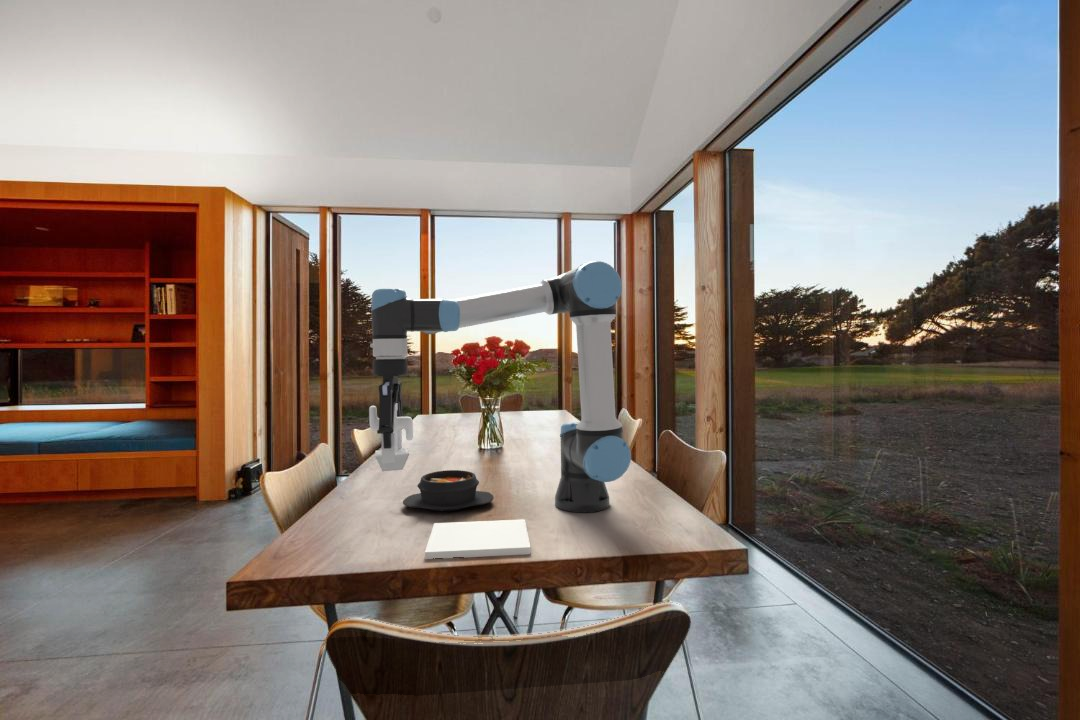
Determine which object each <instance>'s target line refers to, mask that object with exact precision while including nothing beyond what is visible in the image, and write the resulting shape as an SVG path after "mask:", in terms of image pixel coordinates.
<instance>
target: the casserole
mask: <svg viewBox="0 0 1080 720" xmlns="http://www.w3.org/2000/svg"><path fill="white" fill-rule="evenodd" d="M479 484H480V481H479V480H478V479H477V476H476V474H475V473H474V472H471V471H466V470H461V469H460V470H459V469H457V470H456V469H455V470H454V469H449V470H448V469H447V470H440V471H439V470H438V471H433V472H430V473H429V472H428V473H426V474H424V475H422V476H421V478H420V481H419V482H418V483H417V488H418V490H419V493H414V494H411V495H408V496H407V497H405V498H404V499H403V501H402V504H403V506H405V507H407V508H414V509H417V508H418V509H426V510H430V511H436V512H455V511H460V510H464V509H466V508H469V507H474V506H481V505H487V504H489V503H491V502H492V501H493V500H494V498H495V497H494V495H493V494H492V493H491V492H489V491H482V490H481V491H480V490H477V489H478V485H479Z"/></svg>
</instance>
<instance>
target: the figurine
mask: <svg viewBox="0 0 1080 720" xmlns="http://www.w3.org/2000/svg"><path fill="white" fill-rule="evenodd" d="M377 409H378V408H377V406H376V405H371V406H369V409H368V418H369V421H368V423H369V428H370V429H371V430H372V431H376V432H377V430H379V416H378V411H377ZM397 410H398V404H397V403H396V404H395V409H394V426H393V429H394V431H393V433H395V463H382V449H379V450H375V452H374V453H375V454H374V455H375V456H374V457H375V459H376V461H377V463H378V465H379V468H380V469H381V472H392V471H402V470H404V467H405V466H406V463H407V460H408V459H409V456H410V451H409V448H407V447H406V448H402V449H398V445H397V429H402V430H405V439H406V440H407V441H412V440H414V423H413V419H412V417H411V416H403V417H397Z"/></svg>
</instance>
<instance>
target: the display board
mask: <svg viewBox="0 0 1080 720" xmlns="http://www.w3.org/2000/svg"><path fill="white" fill-rule="evenodd" d="M432 526H433V527H432V529H431V533H430V536H429V537H428V542H427V545H426V548H425V551H424V560H436V559H435V558H443V559H454V558H453V557H464V558H478V557H481V558H483V557H500V556H502V557H505V556H519V555H520V556H521V555H531V553H532V552H531V542H530V538H529V533H528V529H527V528H528V527H527V524H526V519H504V520H503V519H501V520H500V519H498V520H480V521H478V520H477V521H475V520H473V521H457V522H453V521H452V522H434V523H433V525H432ZM433 558H434V559H433Z"/></svg>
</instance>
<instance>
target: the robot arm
mask: <svg viewBox="0 0 1080 720" xmlns="http://www.w3.org/2000/svg"><path fill="white" fill-rule="evenodd" d="M622 284H623V282H622V280H621V277H620V274H619V272H618V271H617V270H616V268H614V267H613V266H612V265H611V264H609V263H607V262H604V261H600V260H594V261H588V262H584V263H582V264H580V265H579V266H577V267H575V268H573V269H570V270H568V271H566V272H565V273H561V274H560V275H556V276H555V277H551V278H545V279H542V280H541V281H540V283H538V284H534V285H527V286H523V287H517V288H516V287H515V288H512V289H506V290H500V291H495V292H488V293H483V294H477V295H472V296H466V297H460V298H455V299H448V298H444V297H443V298H409V297H408V296H407V292H406V291H405V290H404V289H402V288H377V289H375V290H374V291H373V292H372V293H371V310H370V311H371V334H372V335H371V336H372V343H370V345H369V347H370V348H372V356H373V358H374V357H375V359H373V361H372V373H373V376H374V377H382V383H381V384H380V385H379V386H378V397H379V399H378V400H379V402H378V406H379V408H378V410H379V411H378V412H379V413H378V415H379V416H378V418H379V430H377V431H376V434H380V438H381V439H380V440H381V450H382V463H395V433H393V431H394V429H393V426H394V409H395V404H396V403H397V404H398V410H397V417H404V416H403V400H402V399H403V397H402V381H399V376H400V377H401V376H407V375H408V372H409V370H408V368H409V367H408V360H407V358H406V357H407V356H408V336H407V333H408V332H412V333H413V332H422V333H424V334H427V335H435V334H438V333H442V332H443V333H448V332H456V331H458V330H459V329H461V328H466V327H472V326H473V327H474V326H478V325H483V324H487V323H493V322H498V321H503V320H508V319H514V318H520V317H525V316H530V315H536V314H540V313H541V314H542V313H546V314H547V315H548V316H549V315H556V314H565V313H569V319H570V321H572V322H573V324H574V325H575V326H576V327H575V329H576V343H577V344H576V345H577V362H578V380H579V396H580V397H579V398H580V417H581V420H579V422H566V423H563V424H562V425H560V434H559V437H560V478H559V482H558V485H557V488H556V493H555V496H554V506H556V507H557V508H558V509H560V510H562V511H568V512H570V513H571V512H572V513H595V512H599V511H603V510H605V509H608V508H609V506H610V496H609V491H608V489H607V486H606V483H610V482H615V481H616V480H619V479H620V478H621V477H623V475H624V474H625V473H626V472H627V471H628V469H629V468H630V464H631V460H632V451H631V449H630V447H629V445H628V442H627V441H625V440H624V433H623V424H622V422H620V421H619V420H618V419H617V416H616V402H615V401H616V400H615V399H616V398H615V386H614V385H615V384H614V383H615V382H614V381H615V379H614V367H613V366H614V365H613V361H614V360H613V347H612V345H613V344H612V327H611V324H612V322H613V320H614V319H615V318H616V317H617V306H616V303H617V302H618V300H619V299H620V297H621V294H622V289H623V285H622ZM402 431H403V429H397V445H398V449H403V441H402V440H403V439H402V438H403V437H402Z"/></svg>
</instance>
